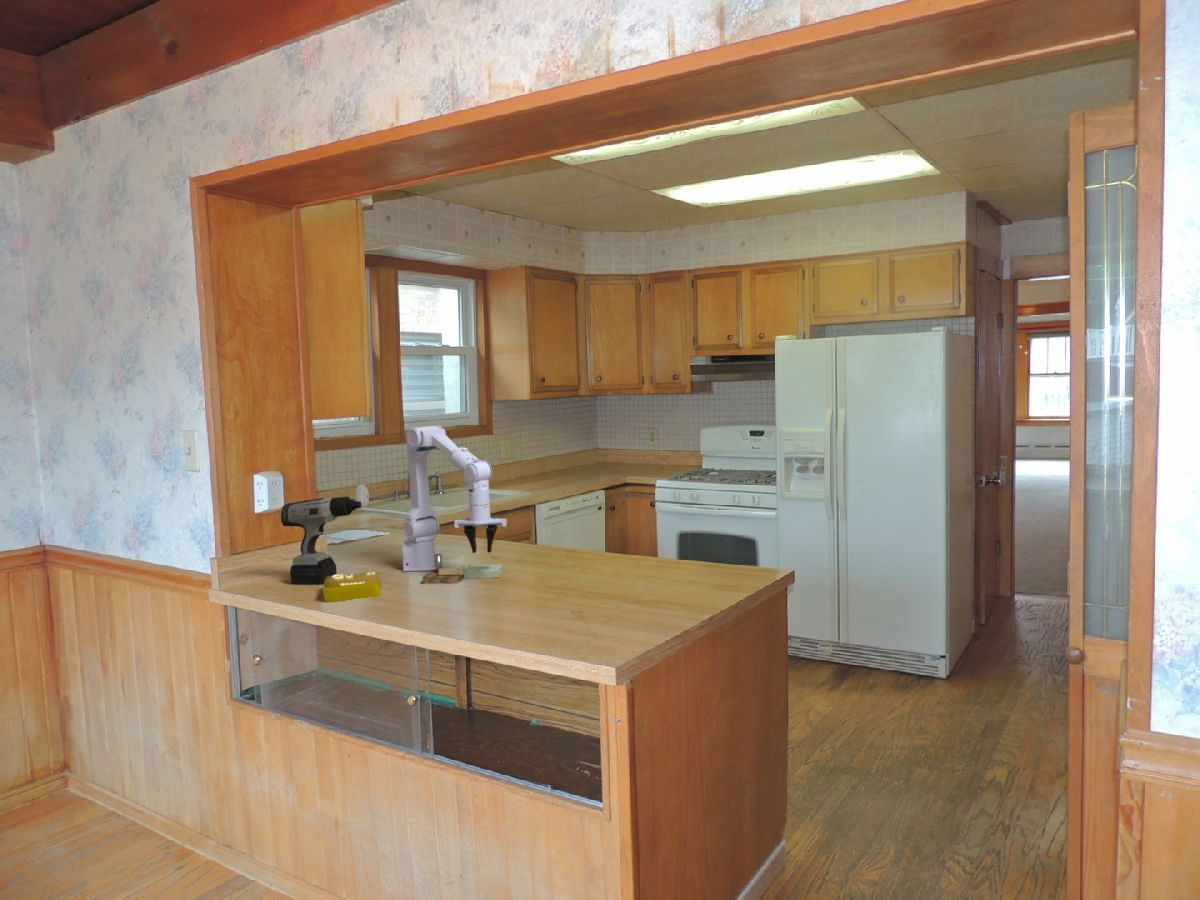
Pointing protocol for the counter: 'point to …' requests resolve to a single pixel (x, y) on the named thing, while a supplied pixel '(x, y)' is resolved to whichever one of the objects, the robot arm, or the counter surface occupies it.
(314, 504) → the cordless drill
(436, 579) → the socket block
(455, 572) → the bar
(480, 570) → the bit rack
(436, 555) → the silver cylindrical rod
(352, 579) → the element tile
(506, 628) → the counter surface
